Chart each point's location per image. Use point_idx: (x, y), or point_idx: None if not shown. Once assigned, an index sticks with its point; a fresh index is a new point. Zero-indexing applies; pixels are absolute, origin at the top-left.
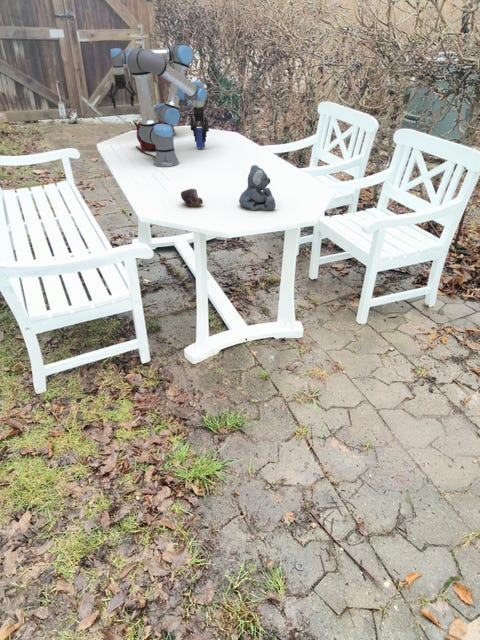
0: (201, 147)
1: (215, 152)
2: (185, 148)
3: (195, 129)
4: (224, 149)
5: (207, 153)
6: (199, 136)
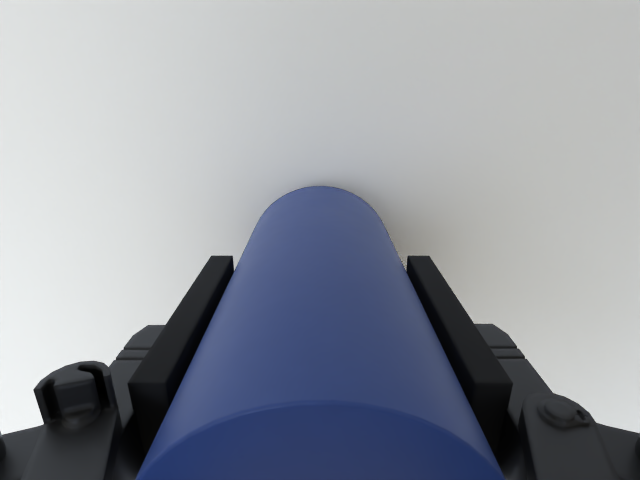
0: (270, 207)
1: (5, 171)
2: (561, 172)
3: (464, 425)
4: (28, 356)
5: (61, 55)
6: (266, 268)
